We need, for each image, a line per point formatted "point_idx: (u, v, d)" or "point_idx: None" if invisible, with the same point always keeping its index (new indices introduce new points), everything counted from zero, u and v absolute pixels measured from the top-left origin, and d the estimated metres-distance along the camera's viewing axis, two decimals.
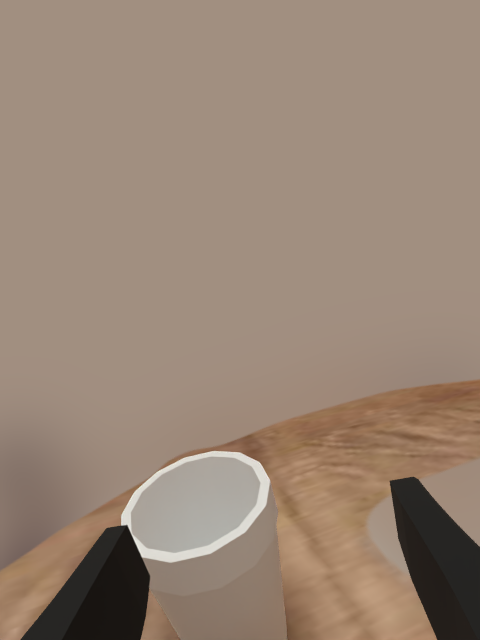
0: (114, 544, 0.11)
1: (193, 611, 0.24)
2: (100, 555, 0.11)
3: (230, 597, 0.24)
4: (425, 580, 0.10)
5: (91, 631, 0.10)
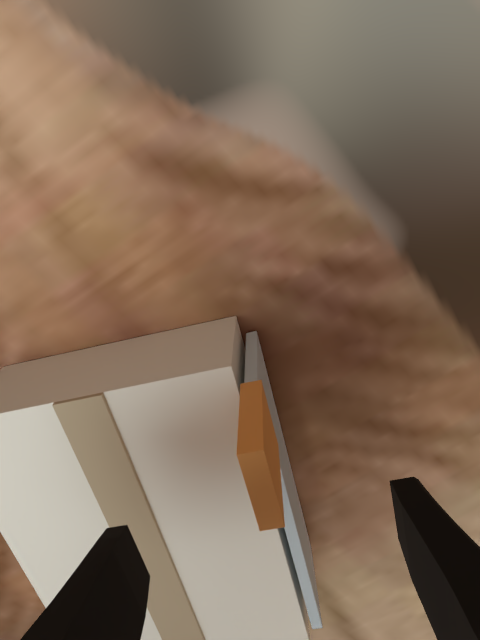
0: (114, 544, 0.11)
1: None
2: (100, 555, 0.11)
3: None
4: (425, 580, 0.10)
5: (91, 631, 0.10)
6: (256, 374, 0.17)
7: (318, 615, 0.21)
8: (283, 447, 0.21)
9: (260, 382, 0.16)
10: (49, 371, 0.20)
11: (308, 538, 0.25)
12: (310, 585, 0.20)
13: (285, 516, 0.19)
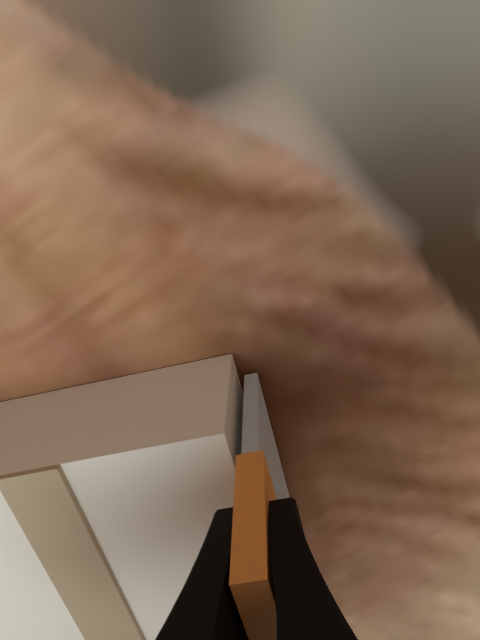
0: None
1: None
2: (223, 535, 0.10)
3: None
4: None
5: (230, 612, 0.09)
6: (257, 440, 0.13)
7: None
8: None
9: (262, 454, 0.12)
10: (2, 423, 0.16)
11: None
12: None
13: None
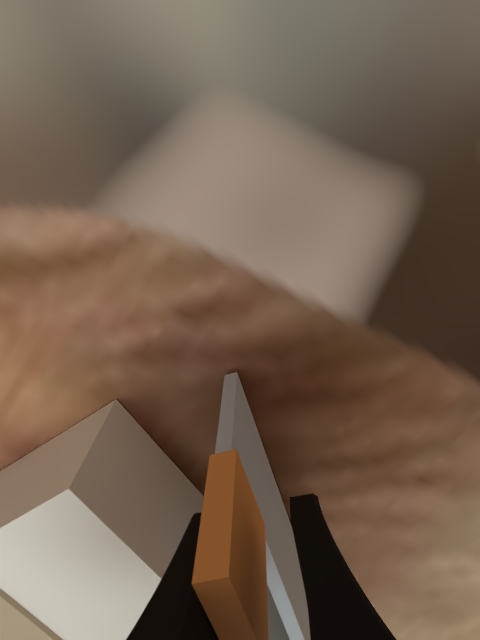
0: None
1: None
2: None
3: None
4: None
5: (201, 616, 0.09)
6: (230, 440, 0.13)
7: None
8: (278, 509, 0.18)
9: (234, 453, 0.12)
10: None
11: None
12: None
13: (281, 606, 0.15)
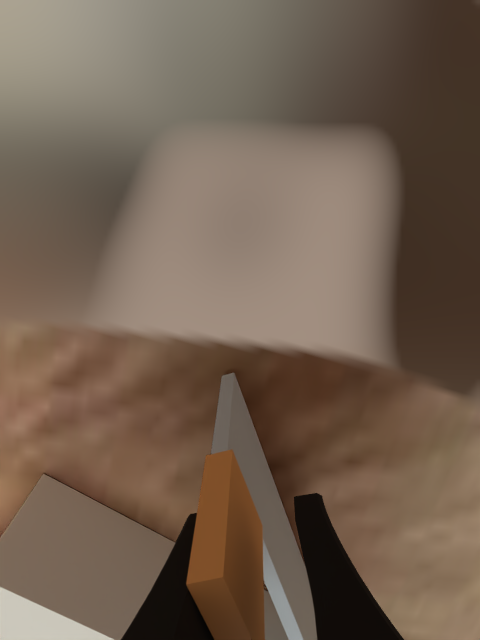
0: None
1: None
2: None
3: None
4: None
5: (196, 616, 0.09)
6: (227, 440, 0.13)
7: None
8: (277, 509, 0.18)
9: (230, 453, 0.12)
10: None
11: None
12: None
13: (280, 606, 0.15)
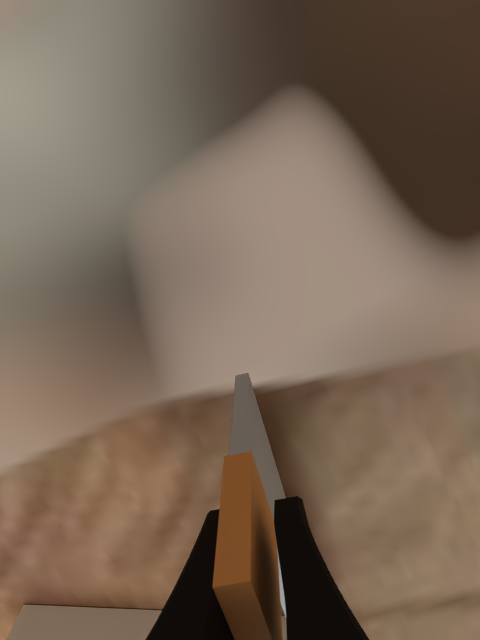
0: None
1: None
2: (215, 537, 0.10)
3: None
4: None
5: (221, 613, 0.09)
6: (245, 441, 0.13)
7: None
8: None
9: (250, 455, 0.12)
10: None
11: None
12: None
13: None
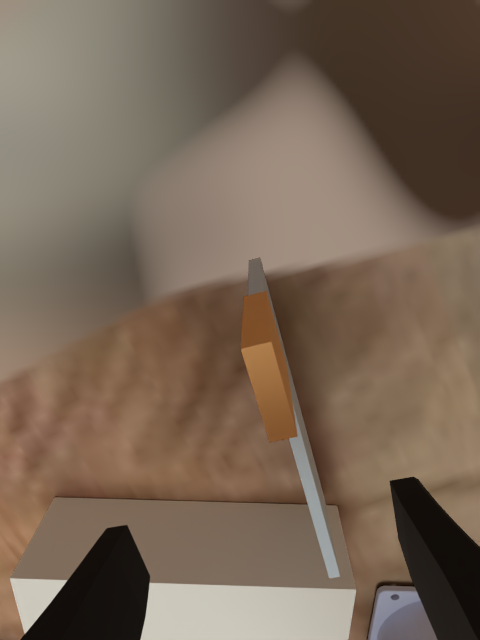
0: (114, 544, 0.11)
1: None
2: (100, 555, 0.11)
3: None
4: (425, 580, 0.10)
5: (91, 631, 0.10)
6: (261, 287, 0.15)
7: (335, 562, 0.20)
8: (292, 384, 0.20)
9: (265, 292, 0.15)
10: None
11: (321, 489, 0.24)
12: (326, 529, 0.19)
13: (297, 450, 0.17)
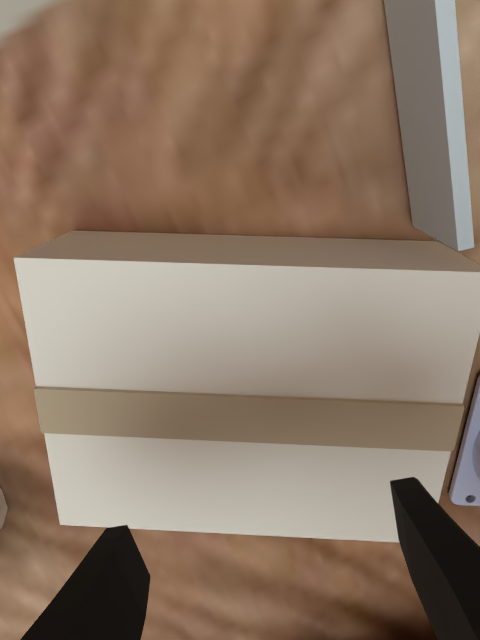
0: (114, 544, 0.11)
1: None
2: (100, 555, 0.11)
3: None
4: (425, 580, 0.10)
5: (91, 631, 0.10)
6: None
7: (470, 220, 0.14)
8: None
9: None
10: None
11: None
12: (464, 152, 0.13)
13: None
